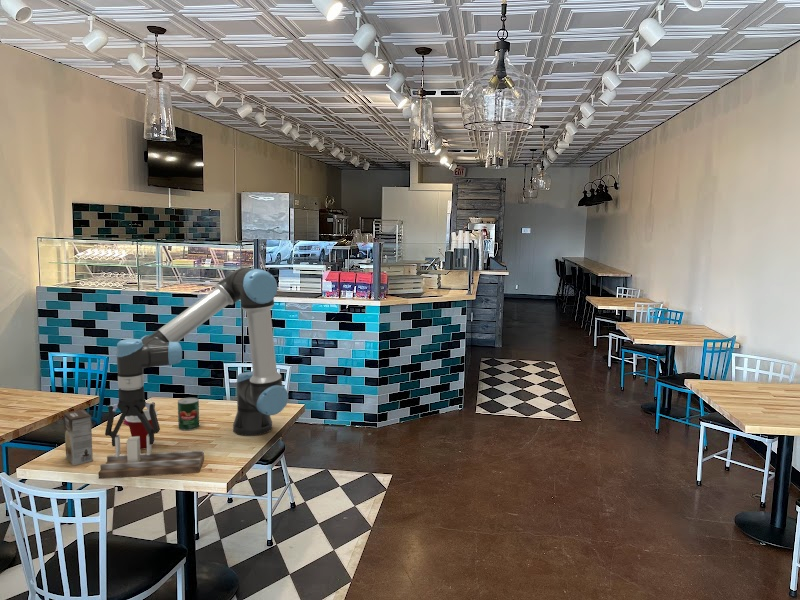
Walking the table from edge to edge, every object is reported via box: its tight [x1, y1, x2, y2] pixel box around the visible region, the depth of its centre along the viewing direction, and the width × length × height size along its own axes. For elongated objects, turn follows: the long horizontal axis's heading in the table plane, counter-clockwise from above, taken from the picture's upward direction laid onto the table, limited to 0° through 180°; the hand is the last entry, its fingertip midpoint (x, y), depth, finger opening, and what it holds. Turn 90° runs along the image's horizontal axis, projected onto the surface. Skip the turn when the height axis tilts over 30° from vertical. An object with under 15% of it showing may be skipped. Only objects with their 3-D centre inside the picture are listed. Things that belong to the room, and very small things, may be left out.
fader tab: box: [126, 436, 141, 463], centre depth 187 cm, size 3×4×8 cm
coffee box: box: [63, 408, 94, 466], centre depth 193 cm, size 9×6×16 cm
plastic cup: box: [125, 409, 158, 450], centre depth 206 cm, size 11×11×12 cm
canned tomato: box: [177, 397, 200, 432], centre depth 227 cm, size 8×8×11 cm
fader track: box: [98, 450, 205, 480], centre depth 188 cm, size 30×12×4 cm, turn 101°
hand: (133, 454), depth 187 cm, fingers open, 9 cm apart
